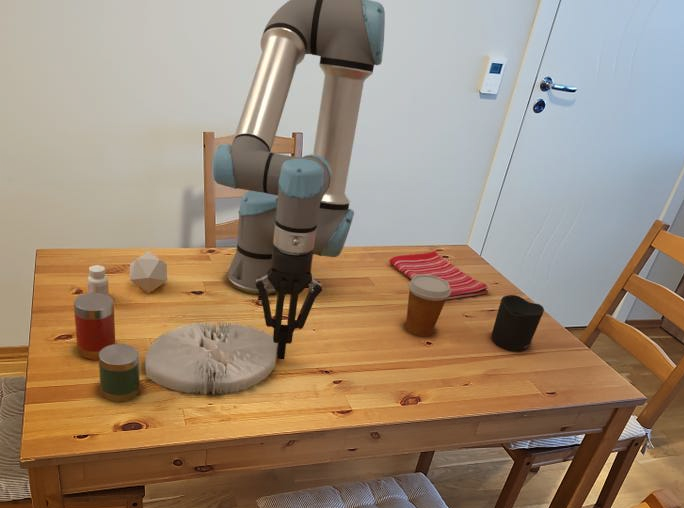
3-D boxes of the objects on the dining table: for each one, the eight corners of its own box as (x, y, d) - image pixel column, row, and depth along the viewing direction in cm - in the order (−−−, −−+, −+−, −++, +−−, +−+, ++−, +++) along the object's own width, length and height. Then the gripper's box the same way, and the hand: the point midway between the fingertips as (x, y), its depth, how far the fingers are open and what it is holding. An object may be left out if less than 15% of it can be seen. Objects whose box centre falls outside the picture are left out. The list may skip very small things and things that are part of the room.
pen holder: (499, 353, 144) (512, 314, 139) (482, 331, 152) (494, 294, 146) (537, 353, 146) (551, 315, 140) (518, 332, 154) (531, 295, 148)
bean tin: (105, 378, 120) (103, 342, 115) (142, 381, 120) (141, 345, 116) (97, 400, 114) (94, 363, 110) (136, 403, 114) (135, 366, 110)
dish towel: (434, 258, 187) (436, 249, 186) (488, 294, 170) (491, 285, 169) (386, 264, 180) (388, 255, 178) (438, 302, 163) (441, 293, 161)
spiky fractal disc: (125, 348, 129) (125, 336, 127) (246, 322, 143) (246, 311, 142) (171, 410, 114) (171, 397, 112) (301, 374, 128) (302, 363, 126)
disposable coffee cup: (439, 343, 145) (452, 296, 139) (397, 334, 146) (408, 287, 140) (439, 323, 153) (451, 278, 146) (399, 315, 154) (410, 270, 148)
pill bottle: (112, 297, 146) (111, 266, 142) (101, 305, 142) (100, 274, 138) (95, 293, 147) (94, 262, 143) (84, 301, 143) (82, 269, 139)
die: (174, 294, 152) (174, 252, 153) (152, 288, 144) (151, 244, 145) (145, 297, 156) (145, 256, 156) (121, 291, 147) (121, 249, 148)
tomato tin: (82, 339, 130) (78, 290, 124) (118, 341, 131) (116, 294, 125) (73, 358, 124) (69, 308, 118) (111, 361, 125) (109, 312, 119)
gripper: (258, 253, 113) (248, 363, 126) (330, 258, 114) (313, 367, 127) (257, 236, 119) (248, 343, 132) (326, 242, 121) (310, 347, 133)
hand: (280, 355), depth 130 cm, fingers closed
